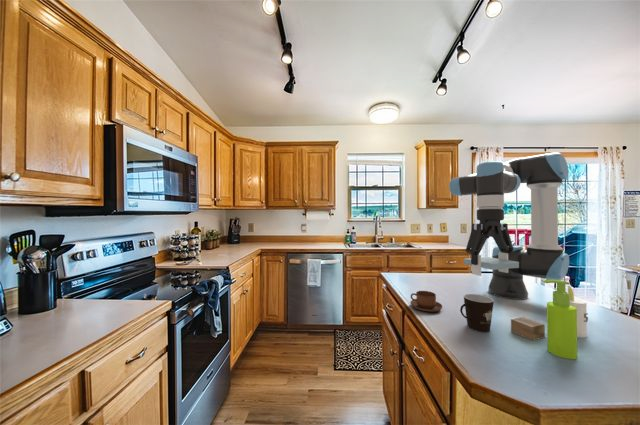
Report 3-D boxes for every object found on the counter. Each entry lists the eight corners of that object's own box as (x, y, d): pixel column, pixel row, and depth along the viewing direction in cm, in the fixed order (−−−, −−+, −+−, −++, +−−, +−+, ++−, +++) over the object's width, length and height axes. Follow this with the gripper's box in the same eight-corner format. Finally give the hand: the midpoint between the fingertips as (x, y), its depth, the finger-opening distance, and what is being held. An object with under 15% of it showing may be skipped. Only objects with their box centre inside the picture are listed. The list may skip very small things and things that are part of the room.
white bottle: (581, 339, 75) (580, 290, 75) (554, 330, 81) (554, 284, 81) (592, 335, 77) (591, 288, 78) (565, 326, 83) (564, 282, 84)
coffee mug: (484, 322, 87) (484, 294, 87) (500, 334, 78) (499, 303, 78) (450, 321, 88) (450, 293, 88) (461, 332, 79) (461, 301, 79)
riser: (523, 328, 82) (523, 316, 82) (544, 337, 76) (544, 324, 76) (511, 331, 80) (511, 319, 80) (531, 340, 75) (531, 327, 75)
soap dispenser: (538, 345, 72) (538, 276, 72) (569, 349, 69) (568, 278, 69) (549, 355, 66) (548, 281, 66) (582, 361, 64) (581, 284, 64)
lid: (488, 262, 88) (488, 257, 88) (518, 267, 79) (518, 262, 79) (463, 263, 84) (463, 258, 84) (492, 269, 75) (492, 263, 75)
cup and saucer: (411, 312, 97) (411, 296, 97) (409, 302, 108) (409, 288, 108) (444, 316, 93) (444, 300, 93) (439, 305, 104) (439, 290, 104)
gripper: (503, 209, 89) (503, 268, 89) (453, 208, 81) (453, 273, 81) (526, 208, 82) (526, 273, 82) (474, 207, 74) (474, 279, 74)
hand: (490, 273), depth 81 cm, fingers closed on lid, 12 cm apart
